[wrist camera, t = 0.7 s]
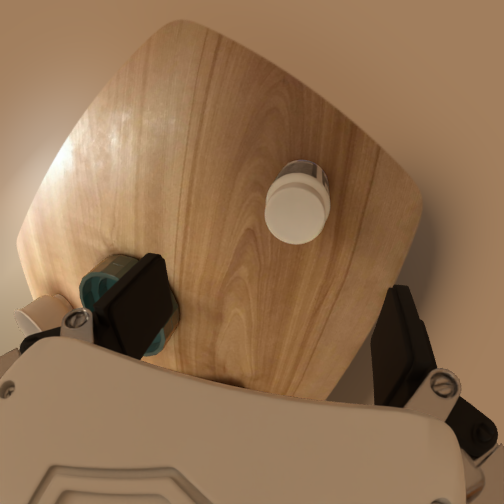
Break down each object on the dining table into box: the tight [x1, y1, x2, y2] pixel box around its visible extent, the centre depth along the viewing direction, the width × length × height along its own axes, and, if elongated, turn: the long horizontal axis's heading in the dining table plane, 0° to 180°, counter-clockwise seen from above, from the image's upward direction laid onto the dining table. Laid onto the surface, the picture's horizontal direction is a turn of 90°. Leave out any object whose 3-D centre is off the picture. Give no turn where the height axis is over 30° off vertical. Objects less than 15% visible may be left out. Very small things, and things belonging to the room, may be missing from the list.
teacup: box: [14, 294, 73, 337], centre depth 42 cm, size 12×15×10 cm
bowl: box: [79, 255, 179, 356], centre depth 36 cm, size 14×14×5 cm
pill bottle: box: [265, 160, 330, 244], centre depth 22 cm, size 5×5×8 cm
